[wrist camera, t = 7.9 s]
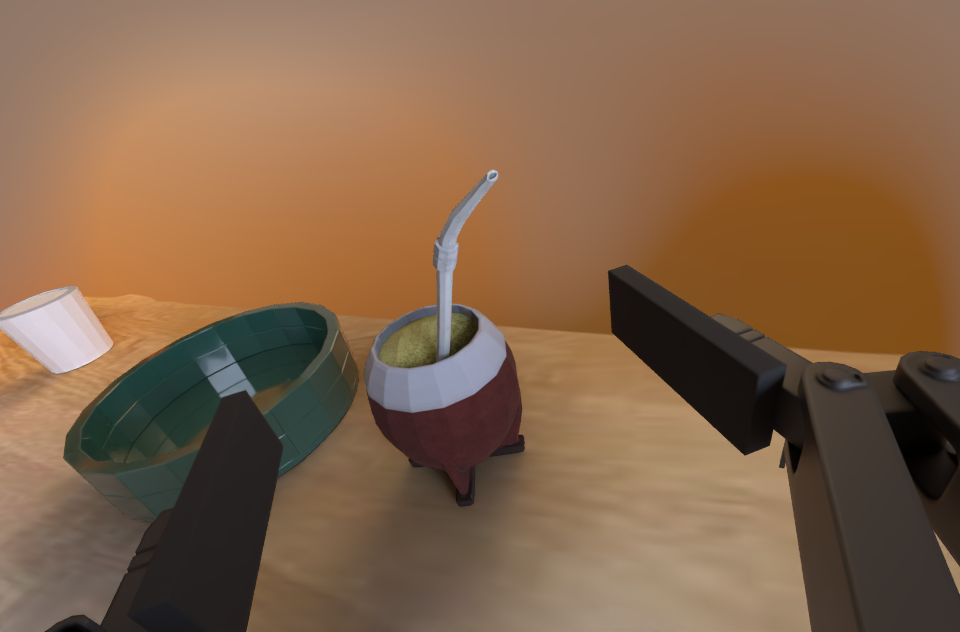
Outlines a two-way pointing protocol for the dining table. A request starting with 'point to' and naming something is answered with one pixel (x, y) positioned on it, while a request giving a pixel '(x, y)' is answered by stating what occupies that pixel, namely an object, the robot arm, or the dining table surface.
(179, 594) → the robot arm
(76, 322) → the white cylinder
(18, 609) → the dining table surface
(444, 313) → the mate gourd
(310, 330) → the green round tray
